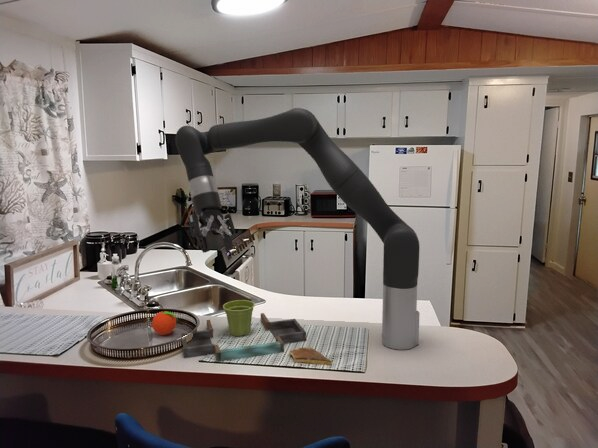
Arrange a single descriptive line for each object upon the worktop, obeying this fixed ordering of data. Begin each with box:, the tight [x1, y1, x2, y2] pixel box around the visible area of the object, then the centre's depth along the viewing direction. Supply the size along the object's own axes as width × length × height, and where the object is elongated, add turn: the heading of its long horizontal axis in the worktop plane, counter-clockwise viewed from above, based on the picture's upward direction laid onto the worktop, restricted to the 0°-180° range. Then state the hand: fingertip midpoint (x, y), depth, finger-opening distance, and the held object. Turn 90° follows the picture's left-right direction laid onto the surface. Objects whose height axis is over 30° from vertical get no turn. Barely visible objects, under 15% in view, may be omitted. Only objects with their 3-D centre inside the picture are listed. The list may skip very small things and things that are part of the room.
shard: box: [288, 346, 333, 366], centre depth 119 cm, size 11×8×2 cm
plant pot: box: [222, 299, 256, 337], centre depth 137 cm, size 9×9×9 cm
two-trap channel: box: [180, 312, 307, 362], centre depth 133 cm, size 34×24×2 cm
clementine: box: [151, 310, 179, 336], centre depth 137 cm, size 8×7×7 cm
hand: (218, 250), depth 125 cm, fingers open, 8 cm apart
